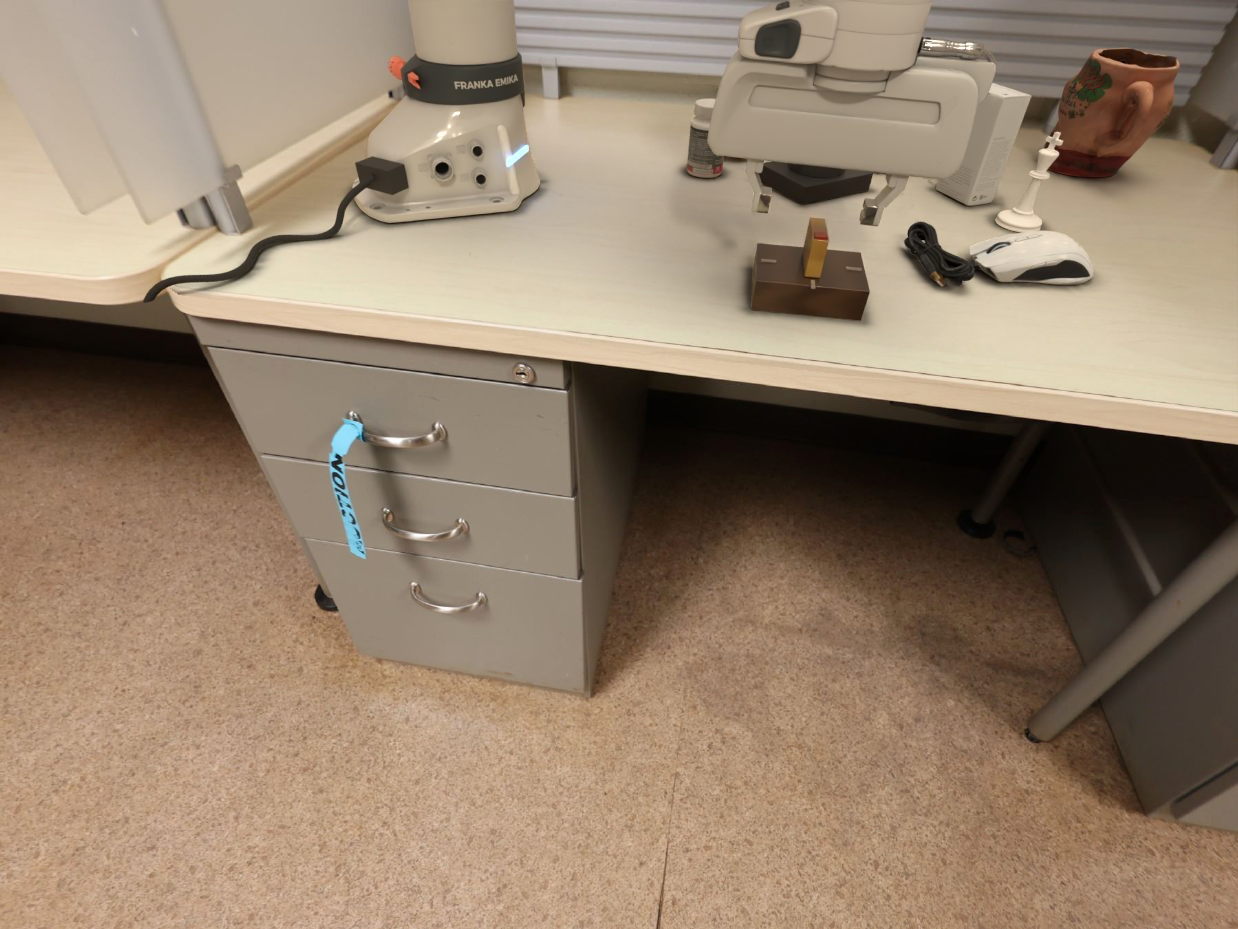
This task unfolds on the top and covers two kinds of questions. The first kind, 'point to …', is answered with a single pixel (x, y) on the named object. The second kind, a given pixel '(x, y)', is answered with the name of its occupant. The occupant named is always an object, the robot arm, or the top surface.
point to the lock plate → (809, 283)
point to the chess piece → (1031, 193)
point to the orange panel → (815, 247)
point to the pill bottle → (702, 143)
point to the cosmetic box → (987, 147)
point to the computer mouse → (1004, 257)
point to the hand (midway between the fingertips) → (813, 216)
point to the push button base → (813, 181)
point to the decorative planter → (1112, 110)
